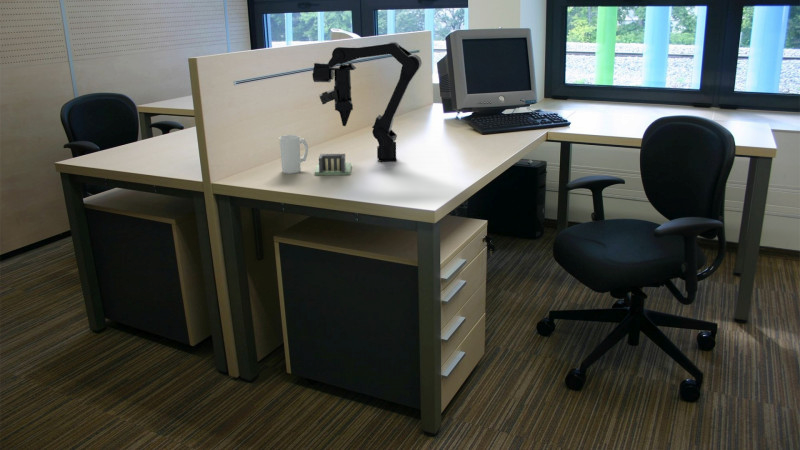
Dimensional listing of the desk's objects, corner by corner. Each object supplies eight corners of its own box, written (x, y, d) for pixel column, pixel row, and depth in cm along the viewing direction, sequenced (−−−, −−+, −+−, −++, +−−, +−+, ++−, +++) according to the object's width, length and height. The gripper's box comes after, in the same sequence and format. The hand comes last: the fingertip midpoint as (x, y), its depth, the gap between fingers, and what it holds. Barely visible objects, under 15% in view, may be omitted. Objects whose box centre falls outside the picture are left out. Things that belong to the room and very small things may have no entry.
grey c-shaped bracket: (320, 168, 227) (320, 153, 226) (345, 167, 228) (345, 153, 226) (319, 172, 222) (318, 158, 220) (344, 172, 222) (344, 158, 220)
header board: (351, 165, 235) (351, 151, 233) (350, 174, 223) (349, 160, 222) (317, 165, 234) (316, 152, 232) (314, 175, 223) (314, 160, 221)
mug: (286, 174, 223) (284, 140, 219) (278, 170, 228) (276, 136, 224) (313, 170, 228) (311, 136, 224) (304, 166, 234) (302, 132, 229)
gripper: (320, 79, 243) (322, 121, 249) (319, 86, 226) (321, 131, 231) (350, 78, 244) (352, 120, 250) (352, 86, 227) (353, 131, 232)
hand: (344, 125), depth 241 cm, fingers closed
